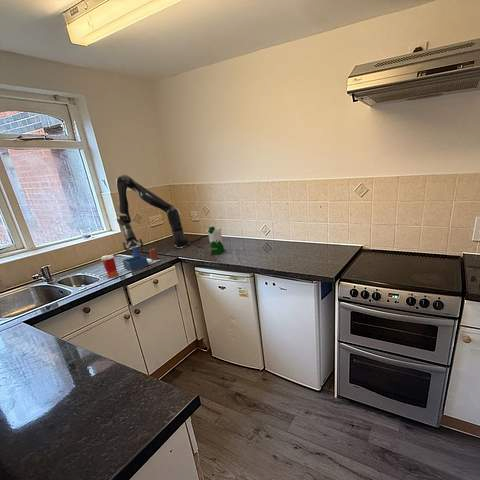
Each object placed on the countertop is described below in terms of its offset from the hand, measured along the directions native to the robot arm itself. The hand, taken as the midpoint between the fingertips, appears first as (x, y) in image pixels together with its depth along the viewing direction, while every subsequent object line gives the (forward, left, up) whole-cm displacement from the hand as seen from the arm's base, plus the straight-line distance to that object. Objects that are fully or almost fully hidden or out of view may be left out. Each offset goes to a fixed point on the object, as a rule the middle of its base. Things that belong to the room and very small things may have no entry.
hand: (135, 251), depth 235 cm
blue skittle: (0, -1, -5) cm, 5 cm away
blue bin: (+11, +23, -5) cm, 26 cm away
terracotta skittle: (-4, +21, -5) cm, 22 cm away
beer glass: (+29, +28, -5) cm, 40 cm away
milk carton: (-37, +57, -5) cm, 68 cm away
